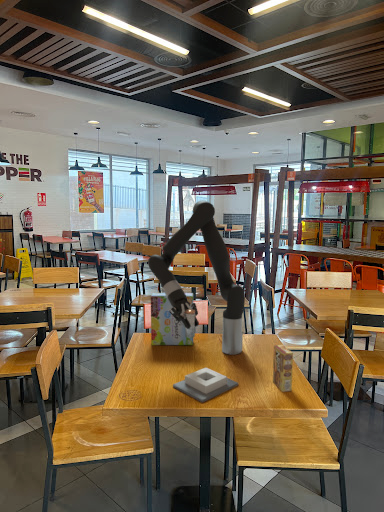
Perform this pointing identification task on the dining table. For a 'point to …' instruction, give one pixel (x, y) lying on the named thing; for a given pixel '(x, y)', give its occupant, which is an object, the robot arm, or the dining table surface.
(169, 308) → the snack box
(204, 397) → the dock
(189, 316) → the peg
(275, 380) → the candy box
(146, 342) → the dining table surface
